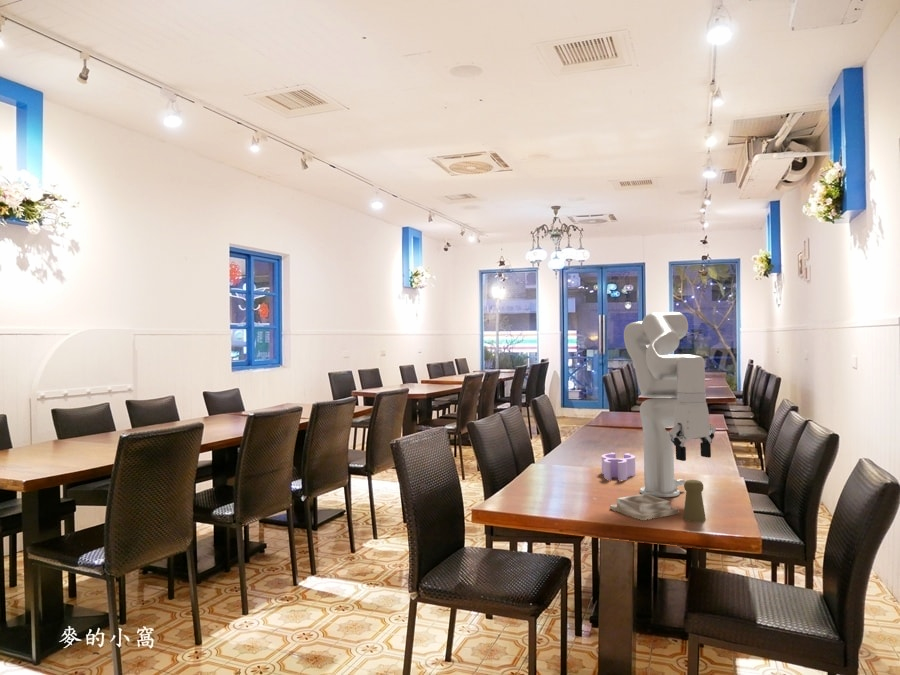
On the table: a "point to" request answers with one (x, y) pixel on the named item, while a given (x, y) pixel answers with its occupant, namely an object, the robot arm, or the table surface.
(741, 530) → the table surface
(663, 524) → the table surface
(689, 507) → the cork
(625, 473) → the clip
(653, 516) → the socket board
